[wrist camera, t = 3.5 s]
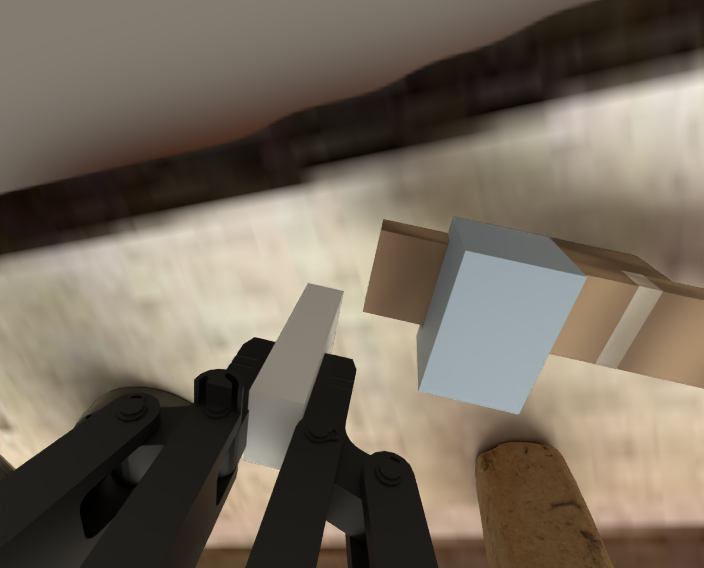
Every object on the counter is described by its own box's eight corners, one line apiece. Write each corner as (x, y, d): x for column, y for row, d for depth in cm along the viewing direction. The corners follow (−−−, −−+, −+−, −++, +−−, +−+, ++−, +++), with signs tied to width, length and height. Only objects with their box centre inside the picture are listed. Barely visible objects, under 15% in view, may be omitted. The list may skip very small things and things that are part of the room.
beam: (372, 264, 29) (356, 341, 20) (387, 197, 27) (377, 250, 18) (759, 350, 28) (920, 469, 19) (808, 288, 26) (1016, 390, 17)
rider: (416, 336, 24) (418, 391, 20) (453, 216, 21) (465, 250, 16) (498, 354, 24) (518, 414, 20) (548, 236, 21) (587, 277, 16)
